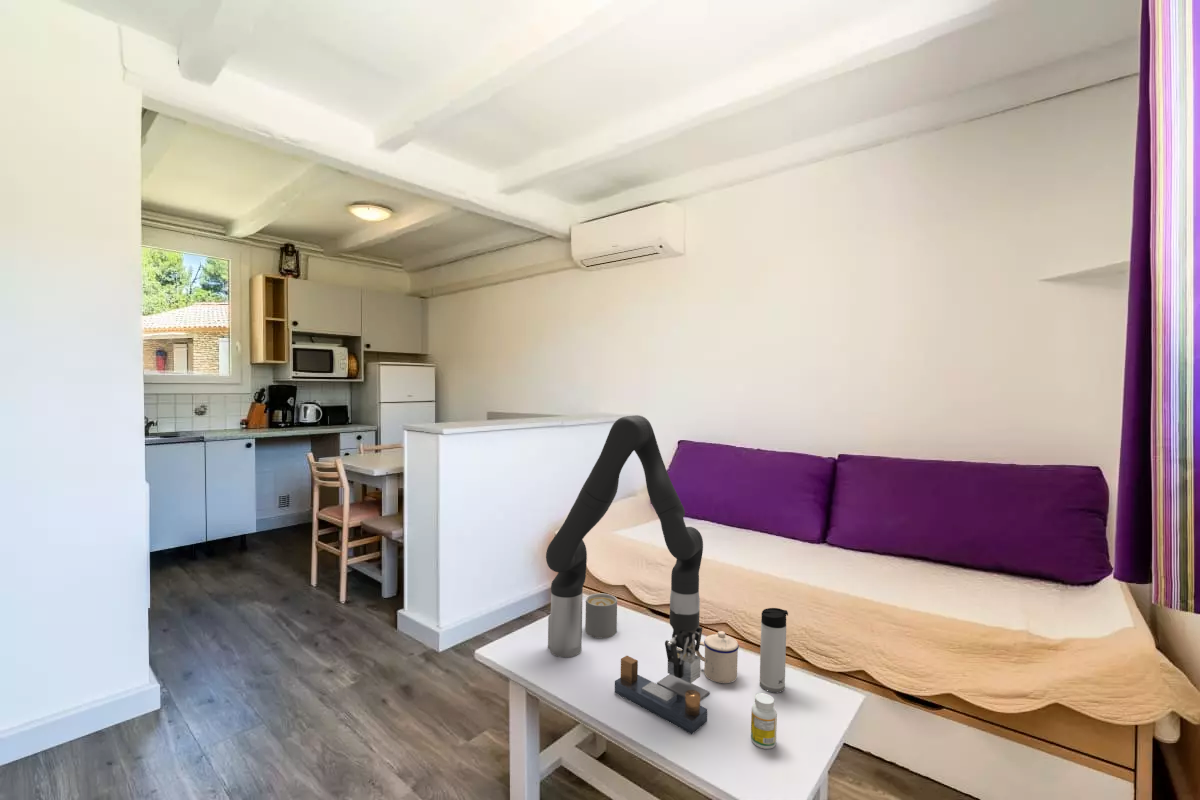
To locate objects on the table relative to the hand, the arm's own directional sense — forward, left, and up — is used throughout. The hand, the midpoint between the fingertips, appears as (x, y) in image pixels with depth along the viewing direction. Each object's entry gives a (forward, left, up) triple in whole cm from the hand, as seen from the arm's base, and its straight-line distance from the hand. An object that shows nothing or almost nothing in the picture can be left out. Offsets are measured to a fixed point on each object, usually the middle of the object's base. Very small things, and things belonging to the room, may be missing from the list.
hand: (683, 672), depth 135 cm
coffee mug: (-37, +11, -5) cm, 39 cm away
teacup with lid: (+2, +13, -5) cm, 14 cm away
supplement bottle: (+24, -4, -5) cm, 25 cm away
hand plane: (0, -10, -4) cm, 11 cm away
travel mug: (+16, +18, -4) cm, 24 cm away
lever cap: (0, 0, 0) cm, 1 cm away
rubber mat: (0, 0, -4) cm, 4 cm away
